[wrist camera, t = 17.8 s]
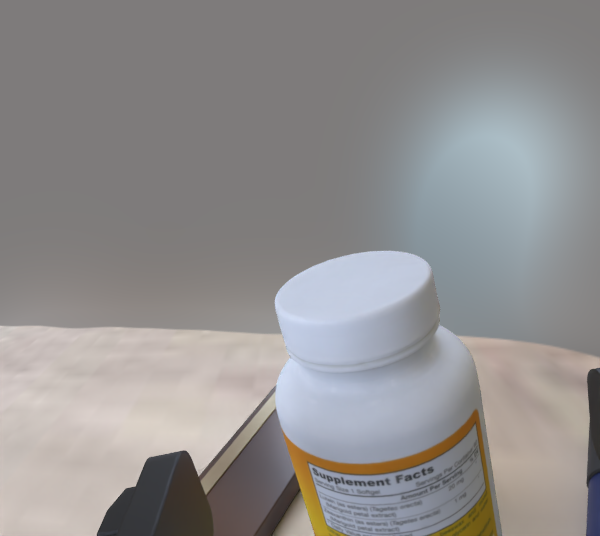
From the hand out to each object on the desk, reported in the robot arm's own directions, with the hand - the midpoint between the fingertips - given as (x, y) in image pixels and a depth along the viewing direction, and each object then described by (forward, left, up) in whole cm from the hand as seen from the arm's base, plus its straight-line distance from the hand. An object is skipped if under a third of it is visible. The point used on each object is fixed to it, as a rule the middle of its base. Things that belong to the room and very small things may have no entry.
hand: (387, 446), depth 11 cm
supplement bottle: (-2, +3, -8) cm, 8 cm away
